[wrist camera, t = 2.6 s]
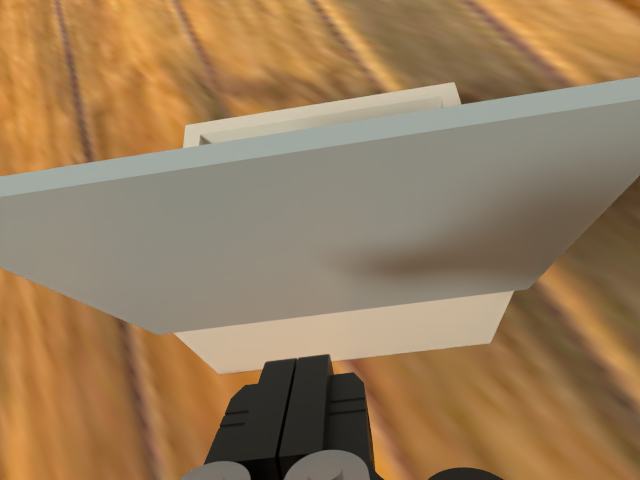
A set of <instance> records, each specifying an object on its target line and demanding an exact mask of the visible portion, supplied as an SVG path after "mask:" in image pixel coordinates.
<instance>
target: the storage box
mask: <svg viewBox="0 0 640 480" xmlns="http://www.w3.org/2000/svg"><path fill="white" fill-rule="evenodd" d="M456 105H462V104H461V101H460V98H459V95H458V92H457V89H456V86H455V83H454V82H453V83H447V84H440V85H434V86H428V87H422V88H415V89H409V90H403V91H397V92H390V93H384V94H378V95H372V96H365V97H359V98H353V99H347V100H341V101H334V102H328V103H322V104H316V105H309V106H303V107H297V108H291V109H284V110H278V111H272V112H266V113H259V114H253V115H247V116H241V117H234V118H228V119H222V120H216V121H209V122H203V123H197V124H191V125H186V126H185V135H184V145H183V148H187V147H194V146H200V145H206V144H213V143H219V142H226V141H232V140H238V139H245V138H251V137H258V136H264V135H270V134H277V133H283V132H290V131H296V130H302V129H309V128H315V127H322V126H328V125H334V124H341V123H347V122H354V121H360V120H366V119H373V118H379V117H386V116H392V115H398V114H405V113H411V112H418V111H424V110H430V109H437V108H443V107H450V106H456ZM513 292H514V291H508V292H500V293H492V294H484V295H476V296H468V297H460V298H451V299H443V300H435V301H427V302H419V303H411V304H403V305H395V306H387V307H379V308H371V309H363V310H354V311H346V312H338V313H330V314H322V315H314V316H306V317H298V318H290V319H282V320H274V321H265V322H257V323H249V324H241V325H233V326H225V327H217V328H209V329H201V330H193V331H185V332H177V333H174V334H175V335H176V336H177V337H178V338H179V339H180V340H182V341H183V342H184V343H185V344H186V345H187V346H188V347H189V348H190V349H192V350H193V351H194V352H195V353H196V354H197V355H198V356H199V357H200V358H201V359H203V360H204V361H205V362H206V363H207V364H208V365H209V366H210V367H211V368H213V369H214V370H215V371H216V372H217V373H218V374H227V373H236V372H244V371H253V370H262V369H263V367H264V364H265V362H267V361H275V360H283V359H291V358H297V359H298V358H299V357H307V356H316V355H324V354H330V357H331V361H340V360H348V359H357V358H366V357H374V356H383V355H392V354H400V353H409V352H418V351H426V350H435V349H444V348H452V347H461V346H470V345H478V344H487V343H491V341H492V338H493V336H494V334H495V332H496V330H497V327H498V325H499V323H500V321H501V319H502V316H503V314H504V312H505V310H506V308H507V305H508V303H509V301H510V299H511V297H512V294H513Z"/></svg>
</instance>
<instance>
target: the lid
mask: <svg viewBox="0 0 640 480" xmlns="http://www.w3.org/2000/svg"><path fill="white" fill-rule="evenodd" d="M639 176H640V77H635V78H629V79H622V80H616V81H609V82H603V83H597V84H590V85H584V86H577V87H571V88H565V89H558V90H552V91H545V92H539V93H533V94H526V95H520V96H513V97H507V98H501V99H494V100H488V101H482V102H475V103H469V104H462V105H456V106H450V107H443V108H437V109H430V110H424V111H418V112H411V113H405V114H398V115H392V116H386V117H379V118H373V119H366V120H360V121H354V122H347V123H341V124H334V125H328V126H322V127H315V128H309V129H302V130H296V131H290V132H283V133H277V134H270V135H264V136H258V137H251V138H245V139H238V140H232V141H226V142H219V143H213V144H206V145H200V146H194V147H187V148H181V149H174V150H168V151H162V152H155V153H149V154H142V155H136V156H130V157H123V158H117V159H110V160H104V161H98V162H91V163H85V164H78V165H72V166H66V167H59V168H53V169H46V170H40V171H34V172H27V173H21V174H14V175H8V176H2V177H0V268H2V269H5V270H7V271H9V272H12V273H14V274H16V275H19V276H21V277H23V278H26V279H28V280H30V281H33V282H35V283H37V284H40V285H42V286H44V287H47V288H49V289H51V290H54V291H56V292H59V293H61V294H63V295H66V296H68V297H70V298H73V299H75V300H77V301H80V302H82V303H84V304H87V305H89V306H91V307H94V308H96V309H98V310H101V311H103V312H105V313H108V314H110V315H112V316H115V317H117V318H119V319H122V320H124V321H127V322H129V323H131V324H134V325H136V326H138V327H141V328H143V329H145V330H148V331H150V332H152V333H155V334H157V335H160V334H168V333H177V332H185V331H193V330H201V329H209V328H217V327H225V326H233V325H241V324H249V323H257V322H265V321H274V320H282V319H290V318H298V317H306V316H314V315H322V314H330V313H338V312H346V311H354V310H363V309H371V308H379V307H387V306H395V305H403V304H411V303H419V302H427V301H435V300H443V299H451V298H460V297H468V296H476V295H484V294H492V293H500V292H508V291H516V290H524V289H529V288H530V286H531V285H532V284H533V283H534V282H535V281H536V280H537V279H538V278H539V277H540V276H541V275H542V274H543V273H544V272H545V271H546V270H547V269H548V268H549V267H550V266H551V265H552V264H553V263H554V262H555V261H556V260H557V259H558V258H559V257H560V256H561V255H562V254H563V253H564V252H565V251H566V250H567V249H568V248H569V247H570V246H571V245H572V244H573V243H574V242H575V241H576V240H577V239H578V238H579V237H580V236H581V235H582V234H583V233H584V232H585V231H586V230H587V229H588V228H589V227H590V226H591V225H592V223H593V222H594V221H595V220H596V219H597V218H598V217H599V216H600V215H601V214H602V213H603V212H604V211H605V210H606V209H607V208H608V207H609V206H610V205H611V204H612V203H613V202H614V201H615V200H616V199H617V198H618V197H619V196H620V195H621V194H622V193H623V192H624V191H625V190H626V189H627V188H628V187H629V186H630V185H631V184H632V183H633V182H634V181H635V180H636V179H637V178H638V177H639Z"/></svg>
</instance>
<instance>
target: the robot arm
mask: <svg viewBox="0 0 640 480" xmlns="http://www.w3.org/2000/svg"><path fill="white" fill-rule="evenodd" d="M179 480H384V479H383V478H381V477H380V476H379V475H378V474H377V473H376V472H375V464H374V453H373V442H372V435H371V428H370V422H369V415H368V408H367V401H366V395H365V388H364V383H363V382H362V381H361V380H360V379H359V378H358V376H357V375H356V374H355V373H354V372H353V373H345V374H336V375H334V374H333V367H332V362H331V357H330V354H324V355H316V356H307V357H299V358H298V359H297V358H291V359H283V360H275V361H267V362H265V364H264V367H263V370H262V373H261V376H260V379H259V382H258V384H252V385H245V386H244V387H243V388H242V389H241V390H240V391H239V392H237V393H236V394H235V395H234V396H233V397H232V398H231V400H230V402H229V405H228V407H227V410H226V412H225V416H224V417H223V419H222V422H221V424H220V428H219V429H218V431H217V434H216V436H215V439H214V441H213V443H212V446H211V448H210V451H209V453H208V456H207V458H206V460H205V463H204V465H202V466H200V467H198V468H196V469H194V470H192V471H190V472H188V473H187V474H186V475H184V476H183V477H182V478H180V479H179ZM428 480H503V479H501V478H500V477H498V476H496V475H494V474H492V473H489V472H486V471H484V470H480V469H475V468H452V469H447V470H444V471H441V472H439V473H437V474H435V475H433V476H432V477H430V478H429V479H428Z"/></svg>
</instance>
